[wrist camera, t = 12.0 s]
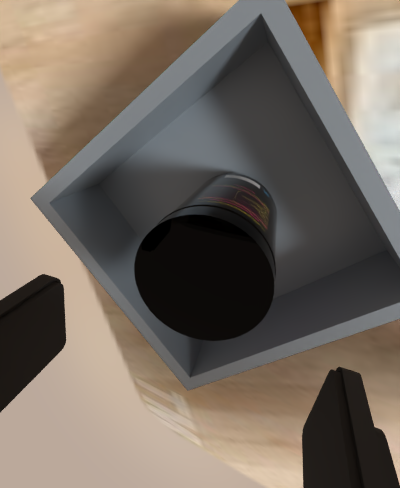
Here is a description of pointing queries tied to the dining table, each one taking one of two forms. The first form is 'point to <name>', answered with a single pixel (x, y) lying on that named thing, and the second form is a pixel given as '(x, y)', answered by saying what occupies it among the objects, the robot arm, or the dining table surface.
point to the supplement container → (212, 260)
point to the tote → (250, 164)
